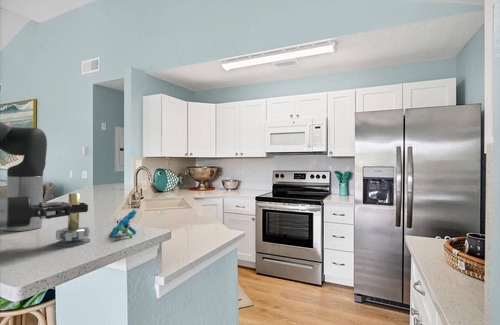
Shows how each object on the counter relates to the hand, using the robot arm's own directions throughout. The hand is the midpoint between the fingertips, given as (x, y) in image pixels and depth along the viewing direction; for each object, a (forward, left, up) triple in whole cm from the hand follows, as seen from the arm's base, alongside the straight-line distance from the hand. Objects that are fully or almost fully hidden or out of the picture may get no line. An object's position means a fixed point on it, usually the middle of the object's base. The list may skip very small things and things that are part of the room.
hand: (85, 207), depth 78 cm
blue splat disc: (+9, +4, -10) cm, 14 cm away
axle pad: (-3, -1, -9) cm, 10 cm away
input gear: (-3, -1, -8) cm, 9 cm away
